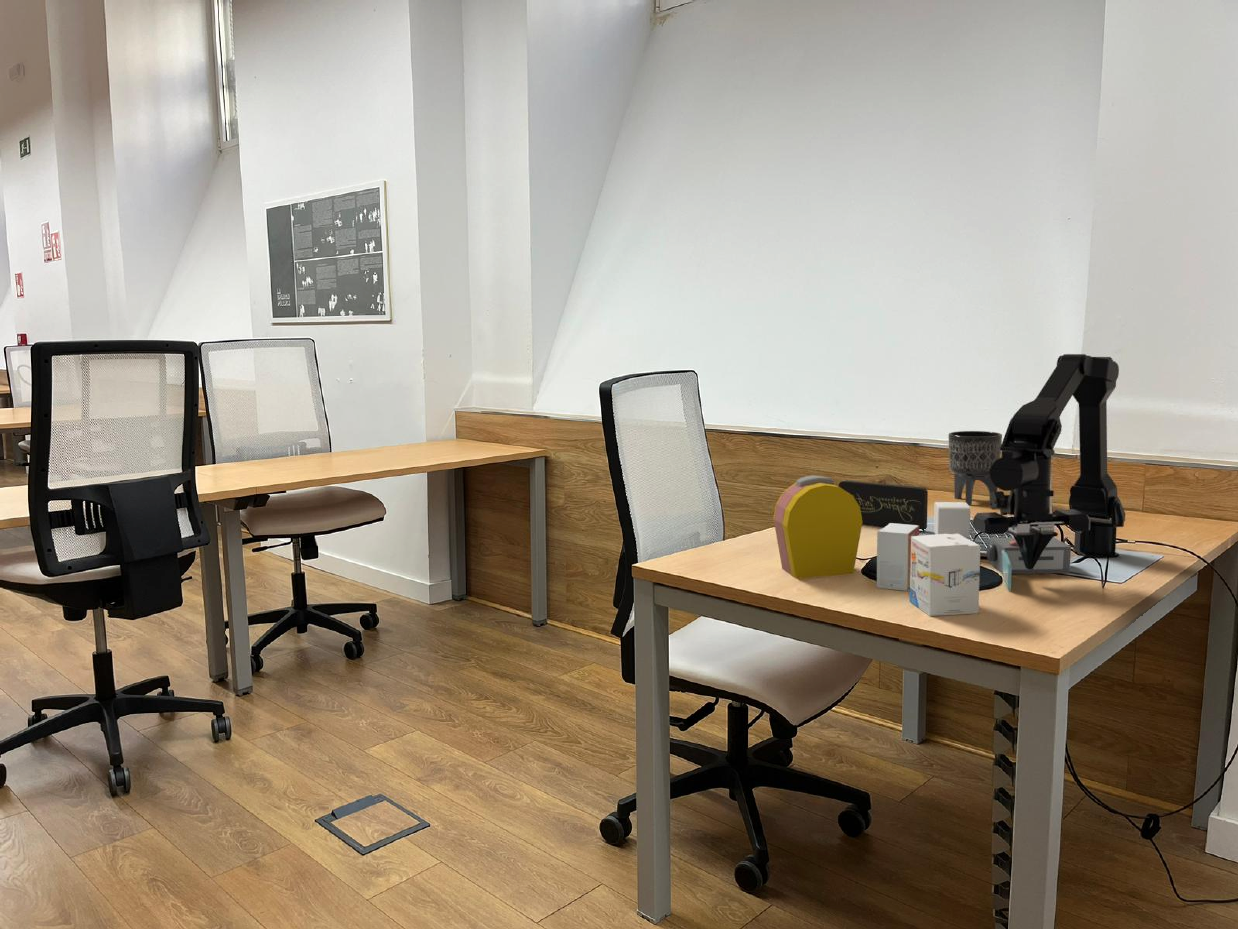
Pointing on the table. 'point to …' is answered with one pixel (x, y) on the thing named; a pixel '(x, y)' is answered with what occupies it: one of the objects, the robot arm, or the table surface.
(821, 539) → the yellow arched block
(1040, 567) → the box
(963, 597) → the ink box
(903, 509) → the nameplate
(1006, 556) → the side door
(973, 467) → the planter
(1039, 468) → the robot arm
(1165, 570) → the table surface
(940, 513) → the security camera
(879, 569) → the small box
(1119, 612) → the table surface
